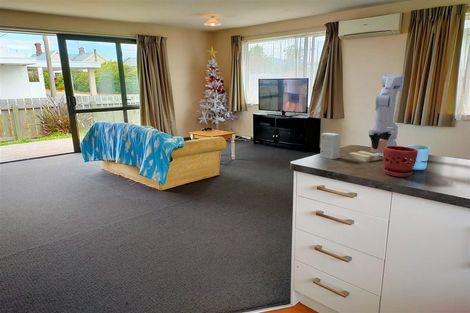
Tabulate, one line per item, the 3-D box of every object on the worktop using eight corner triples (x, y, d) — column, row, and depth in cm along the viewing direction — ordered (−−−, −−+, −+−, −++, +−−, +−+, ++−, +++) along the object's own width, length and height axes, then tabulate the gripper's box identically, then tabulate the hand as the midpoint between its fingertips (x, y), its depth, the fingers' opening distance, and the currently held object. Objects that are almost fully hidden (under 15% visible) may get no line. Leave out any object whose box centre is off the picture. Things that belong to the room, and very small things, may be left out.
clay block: (377, 150, 155) (378, 138, 154) (386, 152, 151) (387, 140, 150) (370, 151, 153) (371, 139, 152) (379, 153, 149) (380, 141, 147)
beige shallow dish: (362, 156, 173) (362, 150, 173) (379, 160, 164) (379, 154, 163) (348, 158, 168) (348, 152, 168) (365, 162, 159) (365, 157, 158)
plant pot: (414, 180, 129) (418, 152, 126) (380, 175, 136) (383, 149, 133) (414, 172, 140) (417, 146, 138) (382, 168, 147) (385, 143, 144)
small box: (339, 157, 168) (341, 134, 165) (332, 159, 164) (334, 135, 161) (326, 155, 174) (328, 132, 171) (319, 156, 170) (321, 133, 167)
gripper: (383, 118, 155) (380, 145, 159) (364, 120, 149) (361, 148, 152) (396, 120, 149) (393, 147, 153) (377, 122, 143) (374, 150, 146)
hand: (378, 148), depth 152 cm, fingers closed on clay block, 5 cm apart
